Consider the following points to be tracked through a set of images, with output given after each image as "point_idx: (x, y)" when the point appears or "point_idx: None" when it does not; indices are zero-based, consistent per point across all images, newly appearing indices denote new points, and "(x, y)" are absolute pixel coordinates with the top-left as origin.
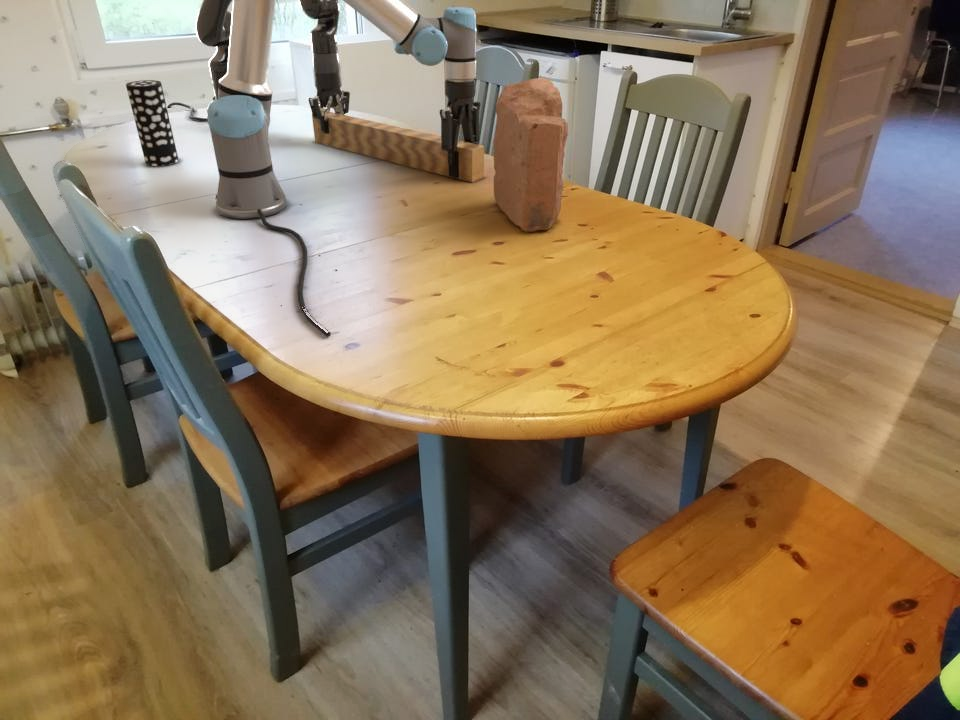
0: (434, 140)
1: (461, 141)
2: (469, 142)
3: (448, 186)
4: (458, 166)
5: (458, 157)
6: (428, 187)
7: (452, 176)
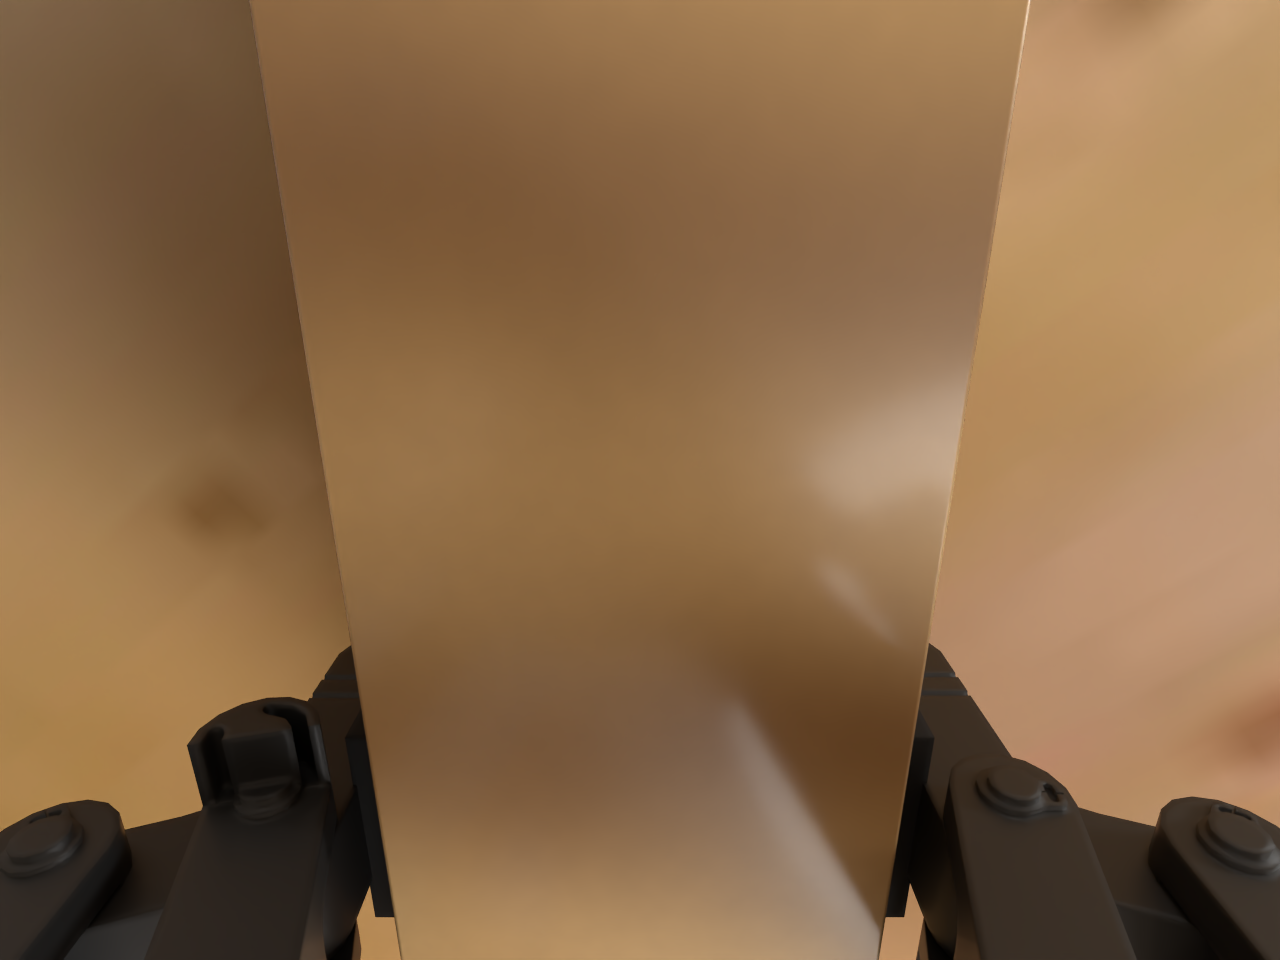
0: (390, 133)
1: (854, 822)
2: (947, 927)
3: (252, 676)
4: None
5: None
6: (39, 535)
7: None
